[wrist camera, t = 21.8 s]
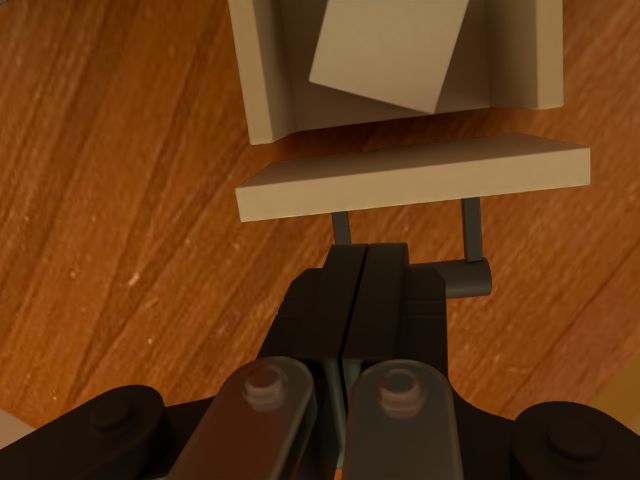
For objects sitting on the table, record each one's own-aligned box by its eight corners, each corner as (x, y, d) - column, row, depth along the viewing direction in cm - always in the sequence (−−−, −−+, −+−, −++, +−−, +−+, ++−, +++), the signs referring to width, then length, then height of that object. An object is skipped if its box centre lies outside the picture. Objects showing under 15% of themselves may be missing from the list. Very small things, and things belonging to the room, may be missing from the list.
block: (453, 1, 21) (477, -25, 17) (420, 112, 23) (433, 115, 18) (346, -28, 22) (341, -61, 17) (318, 85, 23) (307, 81, 18)
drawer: (522, 252, 25) (590, 317, 18) (289, 275, 26) (260, 344, 19) (509, -182, 21) (592, -344, 13) (230, -131, 22) (160, -252, 14)
